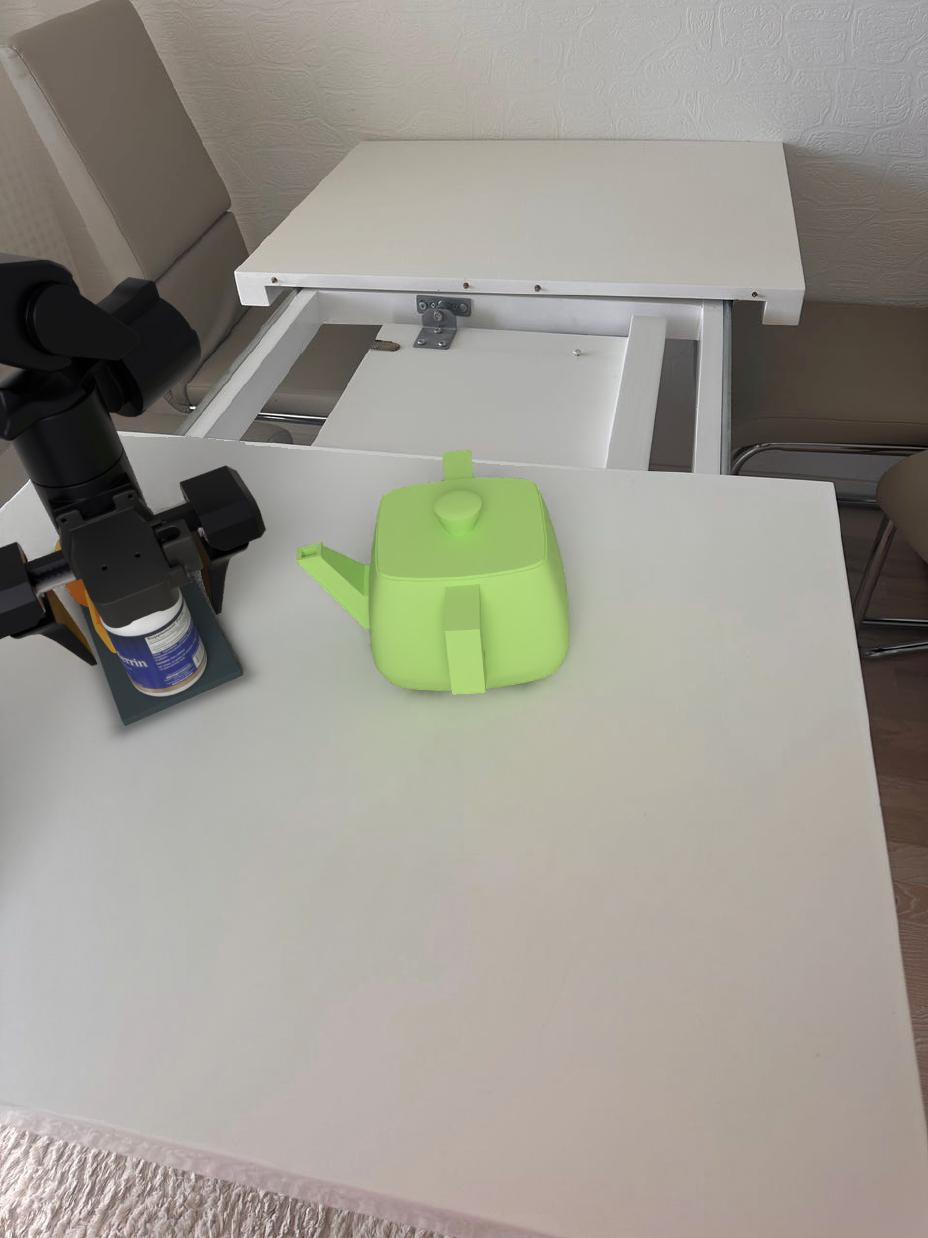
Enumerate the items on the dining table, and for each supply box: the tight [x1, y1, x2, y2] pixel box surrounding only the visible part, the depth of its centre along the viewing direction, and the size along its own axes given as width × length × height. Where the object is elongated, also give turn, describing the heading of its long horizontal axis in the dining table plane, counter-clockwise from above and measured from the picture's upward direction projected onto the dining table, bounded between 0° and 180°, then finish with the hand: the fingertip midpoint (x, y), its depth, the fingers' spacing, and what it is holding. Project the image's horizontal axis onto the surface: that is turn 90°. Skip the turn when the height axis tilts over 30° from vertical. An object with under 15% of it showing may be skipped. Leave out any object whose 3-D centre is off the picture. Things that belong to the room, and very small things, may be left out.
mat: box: [79, 574, 243, 727], centre depth 76 cm, size 9×22×1 cm, turn 28°
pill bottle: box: [100, 587, 207, 696], centre depth 67 cm, size 6×6×10 cm
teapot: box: [295, 448, 570, 696], centre depth 67 cm, size 18×20×13 cm
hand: (156, 635), depth 68 cm, fingers open, 9 cm apart
